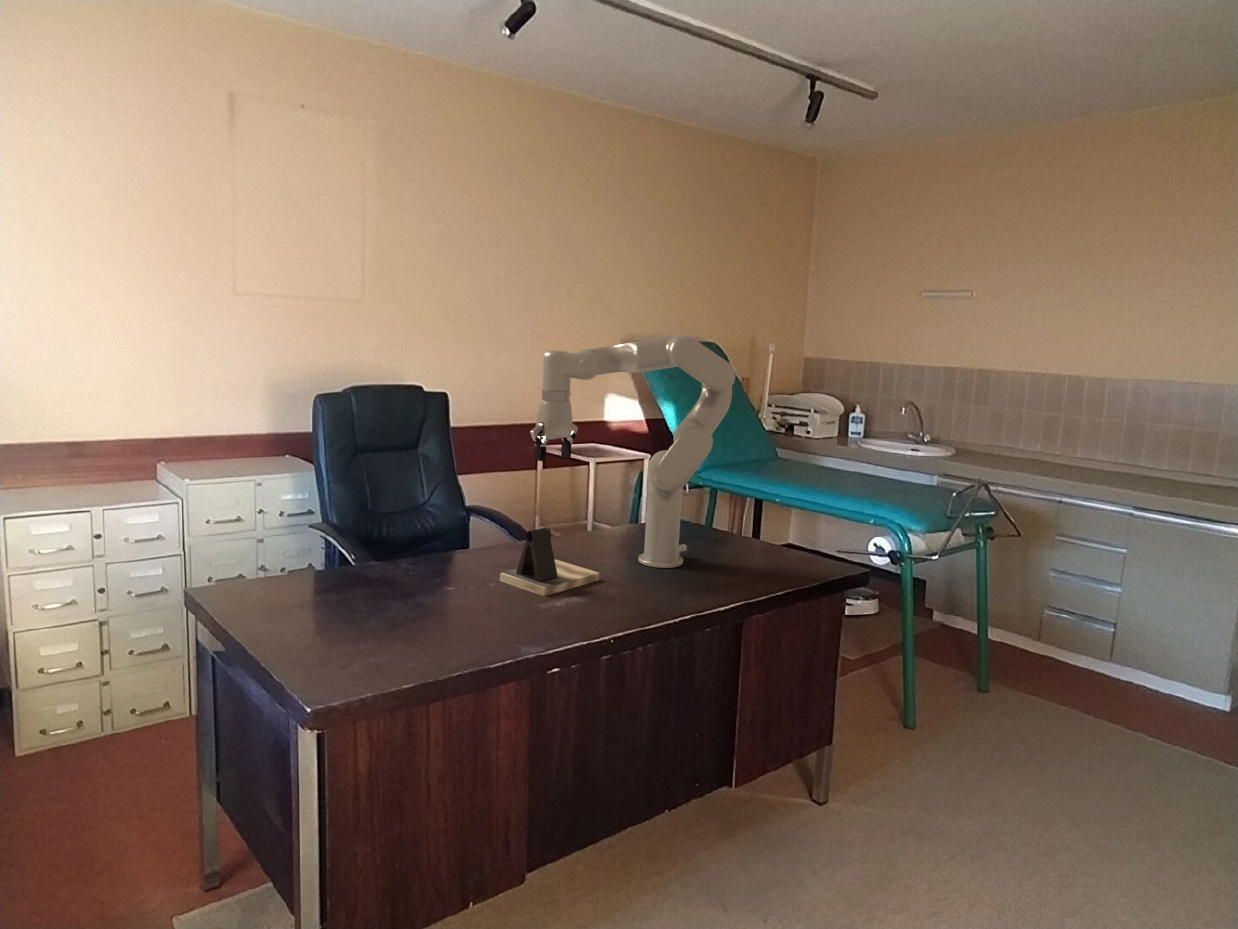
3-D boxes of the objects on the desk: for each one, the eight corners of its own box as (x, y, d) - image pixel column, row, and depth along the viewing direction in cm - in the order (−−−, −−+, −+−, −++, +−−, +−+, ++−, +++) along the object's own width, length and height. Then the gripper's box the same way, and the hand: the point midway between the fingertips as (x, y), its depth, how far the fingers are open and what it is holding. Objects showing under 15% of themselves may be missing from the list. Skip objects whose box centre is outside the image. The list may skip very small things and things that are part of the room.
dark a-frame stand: (557, 578, 225) (559, 531, 223) (539, 582, 220) (541, 535, 218) (534, 569, 231) (535, 524, 229) (516, 573, 226) (517, 527, 224)
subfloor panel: (555, 566, 242) (555, 558, 242) (599, 580, 232) (599, 572, 232) (499, 581, 227) (499, 572, 227) (544, 596, 217) (544, 587, 217)
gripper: (568, 394, 250) (565, 454, 253) (522, 396, 237) (521, 460, 240) (587, 396, 245) (585, 458, 248) (543, 399, 232) (540, 464, 235)
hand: (553, 459), depth 244 cm, fingers open, 9 cm apart
